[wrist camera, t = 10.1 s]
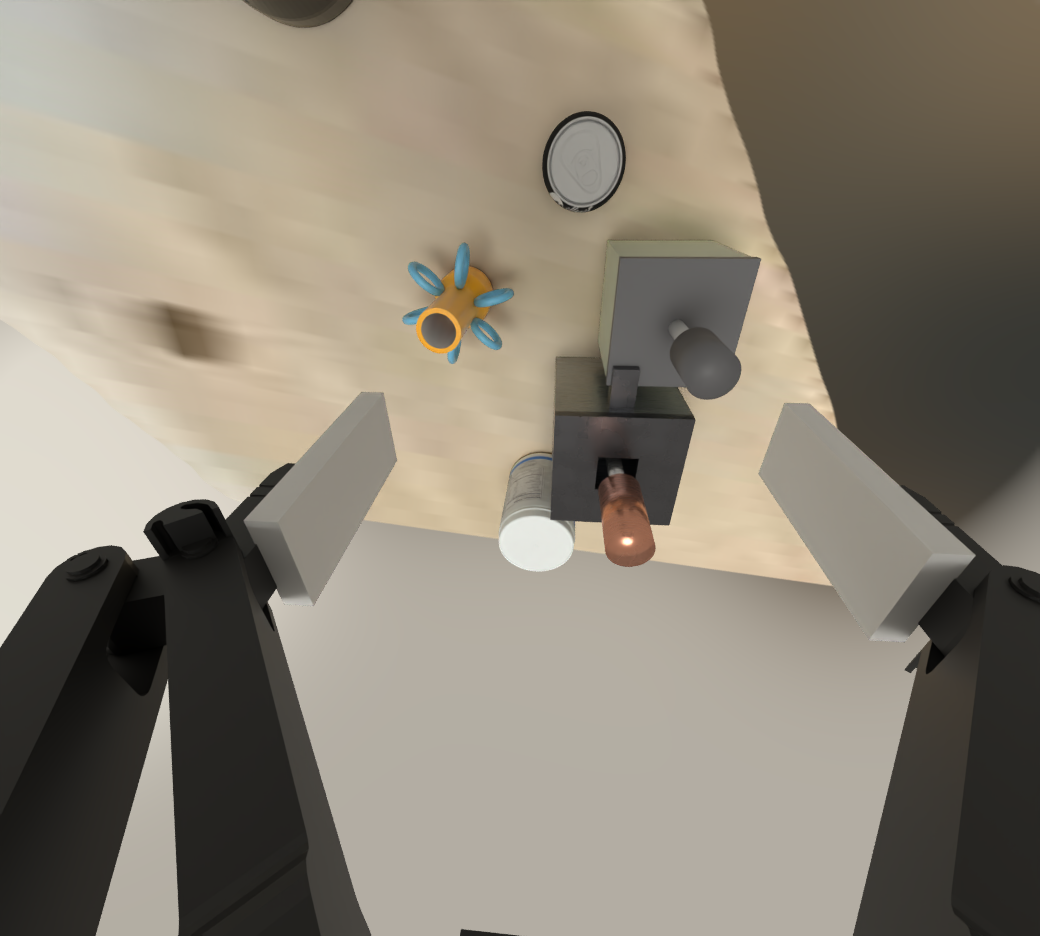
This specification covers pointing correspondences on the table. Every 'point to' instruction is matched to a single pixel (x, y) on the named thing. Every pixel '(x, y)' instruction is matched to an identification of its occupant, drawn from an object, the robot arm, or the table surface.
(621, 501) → the copper lever handle
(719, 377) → the green box with knob
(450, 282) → the orange looped holder
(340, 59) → the table surface
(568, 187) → the beverage can
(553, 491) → the grey box
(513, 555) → the supplement tub
